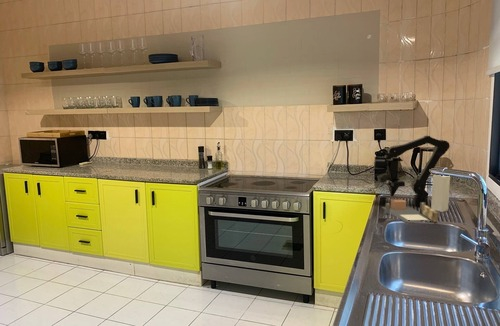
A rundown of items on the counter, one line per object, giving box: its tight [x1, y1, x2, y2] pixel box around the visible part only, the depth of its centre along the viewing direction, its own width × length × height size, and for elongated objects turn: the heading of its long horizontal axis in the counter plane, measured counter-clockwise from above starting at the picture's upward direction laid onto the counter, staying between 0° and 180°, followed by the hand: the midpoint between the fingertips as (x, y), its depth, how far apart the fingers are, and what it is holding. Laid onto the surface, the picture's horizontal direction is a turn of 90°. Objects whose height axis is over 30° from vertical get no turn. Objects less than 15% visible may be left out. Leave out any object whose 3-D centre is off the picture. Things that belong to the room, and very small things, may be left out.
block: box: [390, 198, 407, 210], centre depth 216 cm, size 6×6×4 cm
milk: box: [430, 174, 451, 213], centre depth 212 cm, size 6×6×22 cm
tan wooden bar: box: [422, 204, 439, 223], centre depth 196 cm, size 15×2×4 cm, turn 177°
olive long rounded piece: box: [384, 202, 425, 216], centre depth 205 cm, size 21×2×6 cm, turn 93°
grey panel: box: [381, 206, 435, 224], centre depth 205 cm, size 16×30×1 cm, turn 3°
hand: (391, 196), depth 224 cm, fingers closed
